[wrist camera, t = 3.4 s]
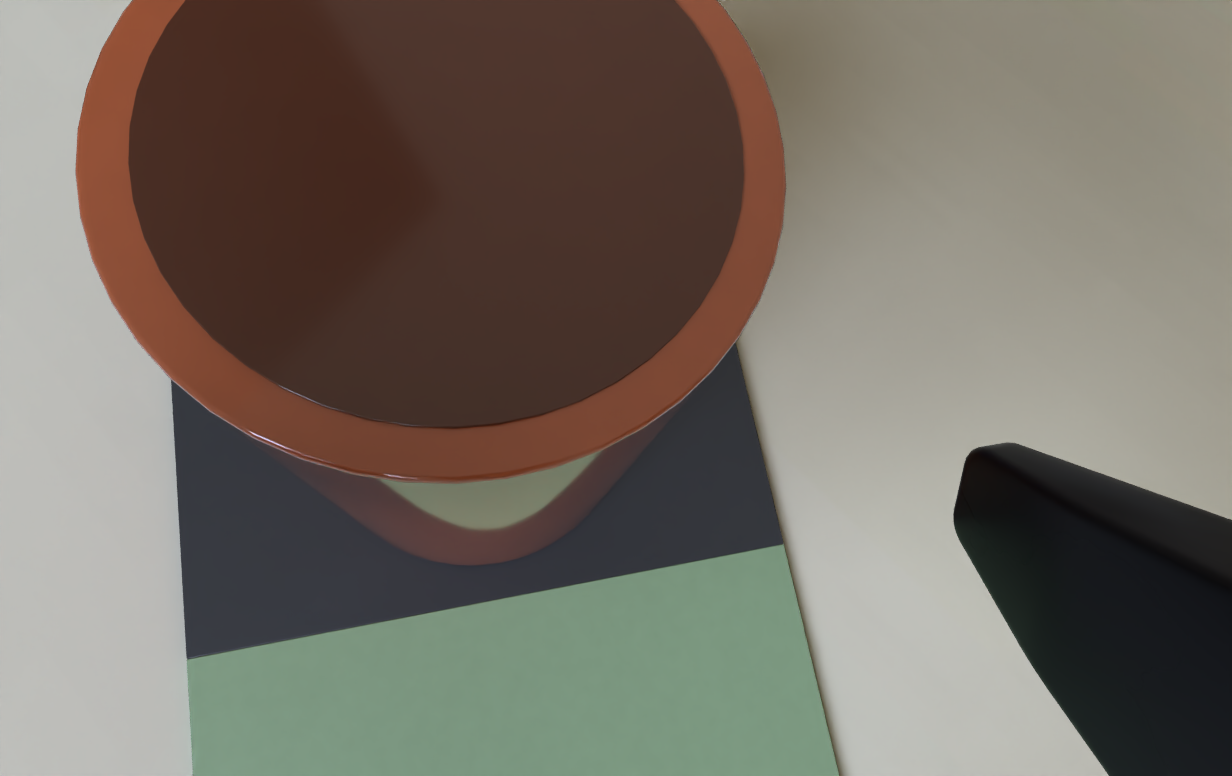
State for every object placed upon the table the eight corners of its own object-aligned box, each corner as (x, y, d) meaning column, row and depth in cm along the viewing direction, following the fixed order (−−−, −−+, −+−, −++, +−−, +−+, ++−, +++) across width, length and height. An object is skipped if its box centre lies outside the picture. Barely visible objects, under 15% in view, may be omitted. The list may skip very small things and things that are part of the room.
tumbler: (655, 534, 19) (865, 417, 8) (333, 594, 17) (78, 546, 7) (598, 252, 20) (709, -147, 10) (302, 286, 19) (61, -134, 8)
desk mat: (904, 1060, 16) (909, 1066, 16) (225, 1285, 14) (221, 1294, 14) (687, 152, 22) (688, 148, 22) (164, 202, 19) (160, 197, 19)
